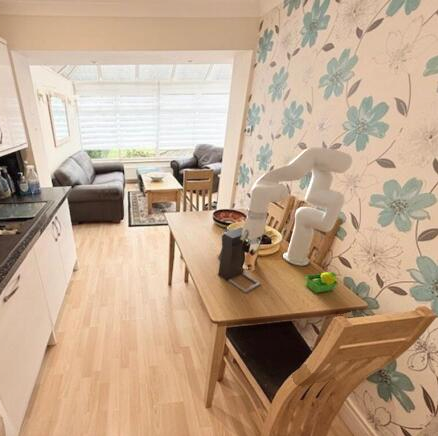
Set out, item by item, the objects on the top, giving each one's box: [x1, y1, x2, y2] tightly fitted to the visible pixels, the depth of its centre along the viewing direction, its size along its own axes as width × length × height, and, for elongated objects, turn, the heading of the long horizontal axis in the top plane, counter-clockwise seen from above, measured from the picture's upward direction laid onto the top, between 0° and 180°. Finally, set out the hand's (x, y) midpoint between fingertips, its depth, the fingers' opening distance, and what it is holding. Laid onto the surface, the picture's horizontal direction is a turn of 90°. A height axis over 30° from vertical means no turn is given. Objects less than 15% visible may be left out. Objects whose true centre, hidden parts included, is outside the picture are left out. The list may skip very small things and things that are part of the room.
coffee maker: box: [217, 227, 261, 293], centre depth 115 cm, size 12×17×24 cm
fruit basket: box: [305, 271, 339, 294], centre depth 111 cm, size 11×9×11 cm
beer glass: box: [241, 237, 261, 272], centre depth 111 cm, size 7×7×15 cm
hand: (250, 248), depth 110 cm, fingers closed on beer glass, 7 cm apart
